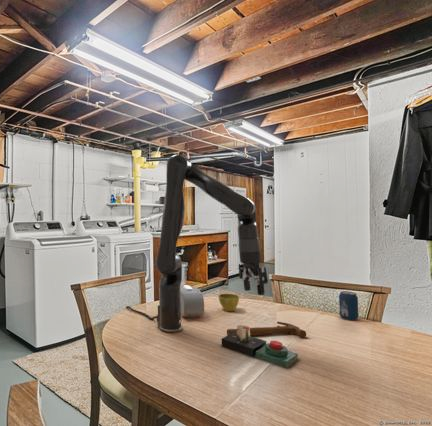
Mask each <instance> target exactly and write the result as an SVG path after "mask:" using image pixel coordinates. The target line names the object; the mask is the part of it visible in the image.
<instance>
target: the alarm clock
mask: <svg viewBox="0 0 432 426" xmlns="http://www.w3.org/2000/svg"><path fill="white" fill-rule="evenodd" d="M180 293H181V317H184V318H201V317H202V316H203V315H204V314H205V299H204V295H203V293H202V291H200V289H199V288H197V287H196V286H194V285H190V284H184V285H183V286H182V285H181V286H180Z"/></svg>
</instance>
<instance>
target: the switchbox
mask: <svg viewBox="0 0 432 426" xmlns="http://www.w3.org/2000/svg"><path fill="white" fill-rule="evenodd" d="M255 358H256V359H259V360H262V361H264V362H268V363H270V364H273V365H276V366H279V367H282V368H285V369H288V368H290V367H291V366H292V365H293V364H294V363H296V362H297V361H298V360H299V354H298V352H296V351H295V352H294V351H291V350H288V347H287V346H286V345H284V344H282V350H277V349H273V348H271V347H270V342H266V345H265V346H263V347H262V348H260V349H259V350H257V351H256V356H255Z"/></svg>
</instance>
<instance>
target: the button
mask: <svg viewBox="0 0 432 426" xmlns="http://www.w3.org/2000/svg"><path fill="white" fill-rule="evenodd" d="M269 343H270V347H271V348H273V349H277V350H282V345H283V343H282V342H281V341H279V340H270V341H269Z"/></svg>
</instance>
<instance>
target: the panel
mask: <svg viewBox="0 0 432 426" xmlns="http://www.w3.org/2000/svg"><path fill="white" fill-rule="evenodd" d="M266 344H267V340H264V339H262V338H257V337H255V336H250V341H249V342H242V341H239V340H238V339H237V332H234V333H232V334H230V335H228V336H227V335H225V336H223V337H222V338H221V347H222V348H225V349H227V350H228V349H229V350H231V351H234V352H236V353H240V354H243V355H245V356H249V357H252V358H256V351H257V350H259V349H260V348H262V347H263V346H265V345H266Z"/></svg>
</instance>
